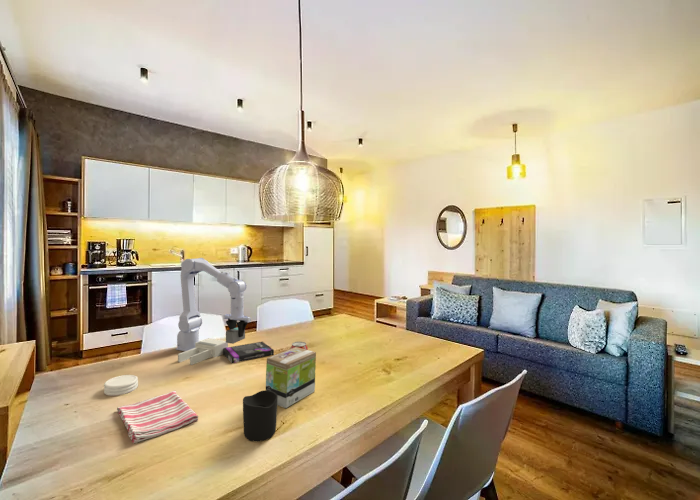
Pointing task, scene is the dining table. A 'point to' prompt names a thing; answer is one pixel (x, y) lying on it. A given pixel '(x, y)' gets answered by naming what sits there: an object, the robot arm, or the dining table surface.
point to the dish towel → (156, 416)
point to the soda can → (299, 345)
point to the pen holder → (260, 415)
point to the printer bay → (203, 350)
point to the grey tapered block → (233, 336)
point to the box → (247, 352)
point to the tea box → (291, 375)
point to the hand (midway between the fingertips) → (237, 335)
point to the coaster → (120, 385)
